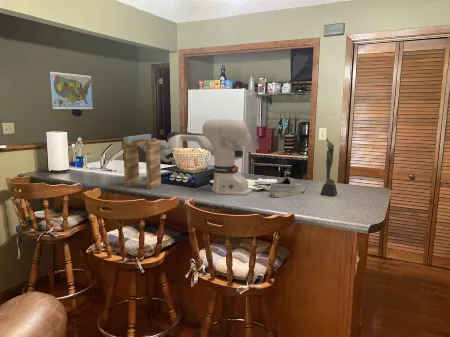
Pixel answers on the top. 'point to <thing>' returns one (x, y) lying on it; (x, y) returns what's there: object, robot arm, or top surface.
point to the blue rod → (136, 138)
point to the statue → (329, 186)
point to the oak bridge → (133, 163)
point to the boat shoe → (286, 188)
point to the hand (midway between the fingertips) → (146, 138)
